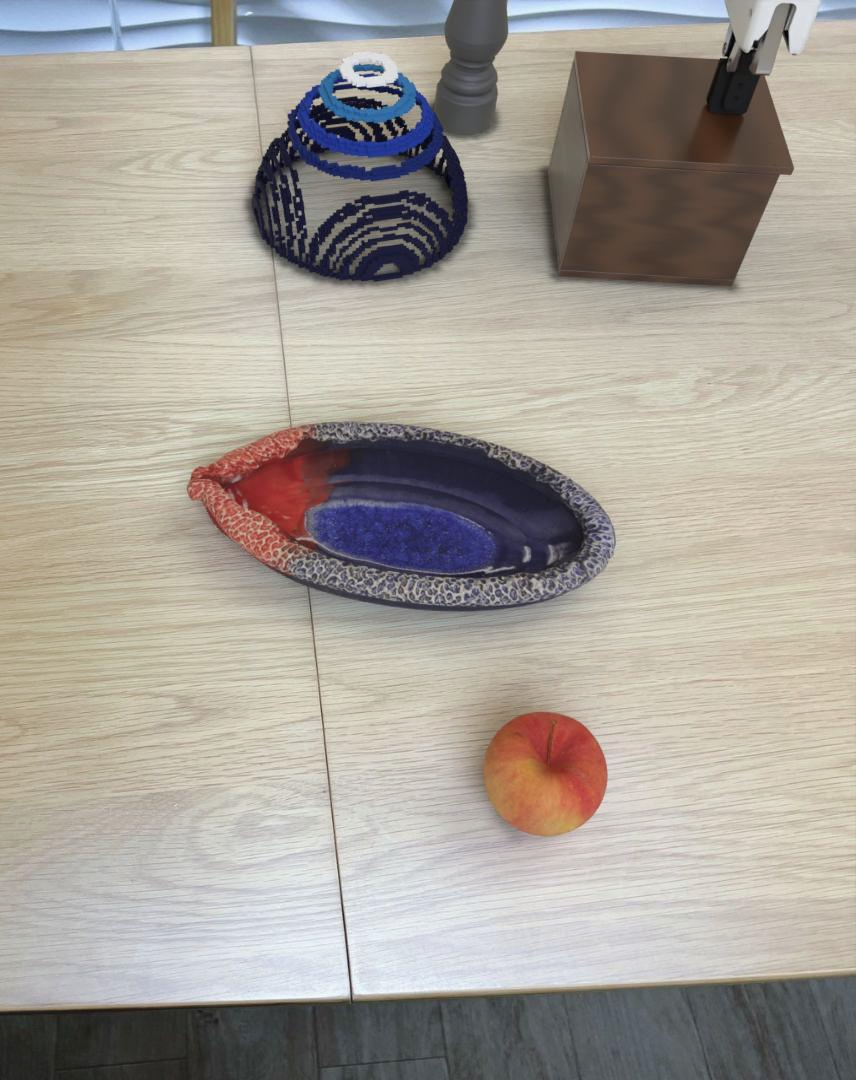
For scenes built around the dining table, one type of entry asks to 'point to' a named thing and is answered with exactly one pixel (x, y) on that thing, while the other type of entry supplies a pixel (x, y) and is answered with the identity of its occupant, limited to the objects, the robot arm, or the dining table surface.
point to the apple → (545, 773)
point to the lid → (673, 117)
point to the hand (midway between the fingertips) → (725, 107)
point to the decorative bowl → (363, 173)
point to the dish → (407, 516)
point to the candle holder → (471, 65)
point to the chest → (648, 214)
